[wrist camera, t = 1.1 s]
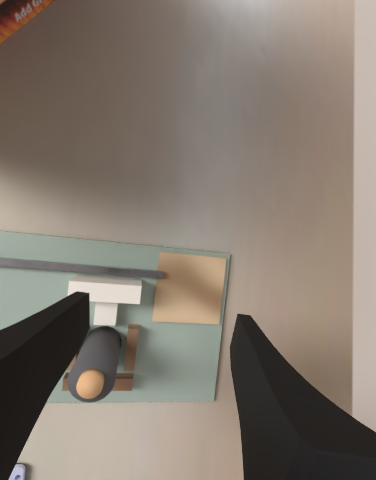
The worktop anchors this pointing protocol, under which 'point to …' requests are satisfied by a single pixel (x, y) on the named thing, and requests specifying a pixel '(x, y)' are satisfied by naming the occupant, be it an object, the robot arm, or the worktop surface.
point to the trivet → (189, 289)
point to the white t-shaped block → (107, 294)
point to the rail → (79, 267)
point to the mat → (150, 333)
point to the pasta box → (18, 14)
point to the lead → (95, 365)
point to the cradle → (124, 379)
